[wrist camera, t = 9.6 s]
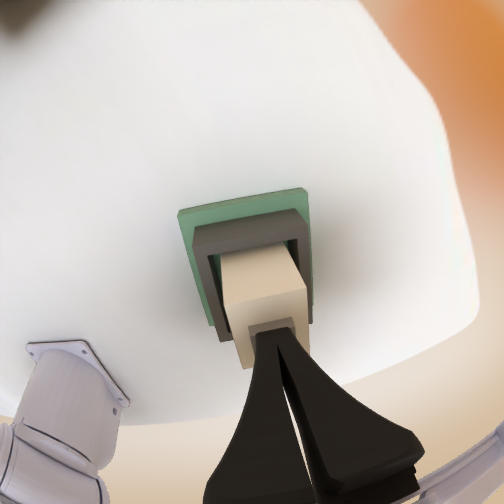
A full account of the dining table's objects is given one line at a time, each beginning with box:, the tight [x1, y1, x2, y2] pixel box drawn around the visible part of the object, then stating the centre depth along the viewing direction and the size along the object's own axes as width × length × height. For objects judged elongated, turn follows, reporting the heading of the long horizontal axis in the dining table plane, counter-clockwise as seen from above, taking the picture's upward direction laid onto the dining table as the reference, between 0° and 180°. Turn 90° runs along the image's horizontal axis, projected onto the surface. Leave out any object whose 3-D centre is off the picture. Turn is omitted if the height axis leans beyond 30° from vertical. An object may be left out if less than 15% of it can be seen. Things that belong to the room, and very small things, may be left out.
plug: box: [220, 241, 310, 369], centre depth 14 cm, size 4×3×7 cm
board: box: [177, 188, 313, 342], centre depth 16 cm, size 8×7×4 cm
